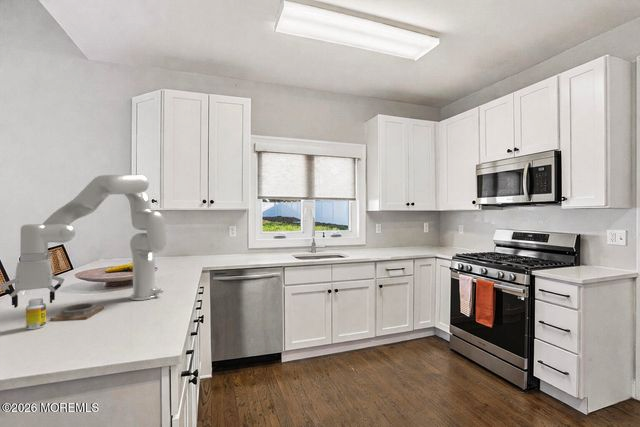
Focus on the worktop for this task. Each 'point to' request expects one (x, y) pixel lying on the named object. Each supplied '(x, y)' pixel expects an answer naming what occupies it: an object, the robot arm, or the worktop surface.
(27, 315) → the supplement bottle
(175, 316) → the worktop surface
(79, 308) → the rosette collar
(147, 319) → the worktop surface
